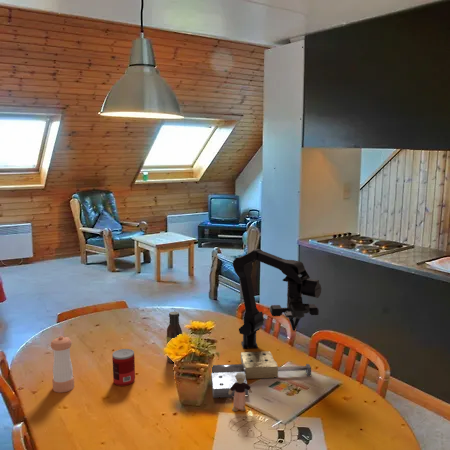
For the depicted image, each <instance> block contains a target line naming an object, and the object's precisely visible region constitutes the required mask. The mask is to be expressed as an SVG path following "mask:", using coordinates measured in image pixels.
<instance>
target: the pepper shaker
mask: <svg viewBox="0 0 450 450" xmlns="http://www.w3.org/2000/svg"><path fill="white" fill-rule="evenodd" d="M72 344H73V343H72V340H71V339H70V337H66V336H65V337H64V336H62V335H61V336H59V337H57V338H54V339H53V340H52V341H51V343H50V348H51V349H52V350H53V365H52V376H53V378H52V391H54V392H55V393H66V392H70V391H72V390H73V389H74V388H75V377H74V374H73V372H74V371H73V364H72V360H71V350H70V348H71V346H72Z"/></svg>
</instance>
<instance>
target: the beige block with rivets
mask: <svg viewBox="0 0 450 450" xmlns="http://www.w3.org/2000/svg"><path fill="white" fill-rule="evenodd" d="M240 362H241V364H243V365H244V368H246V373H245V377H246V380H249V379H253V380H254V379H272V378H273V379H274V377H278V378H279V371H278V367H279V366H278V363H277V361H275V359H274V357H273V354H272V352H271V351H270V350H269V351H243V352H242V351H241V352H240Z"/></svg>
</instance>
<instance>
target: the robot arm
mask: <svg viewBox="0 0 450 450" xmlns="http://www.w3.org/2000/svg"><path fill="white" fill-rule="evenodd" d="M254 262H260V263H263V264H265V265H267V266H270V267H272V268H274V269H277V270H279V271H281V272H282V274H283V275H285V277H283V279H282V282H286V283H287V291H286V292H287V293H286V297H287V298H286V299H287V300H286V307H282V306H281V305H280V304H274V305H273V304H271V305H270V307H269V312H270V314H271V316H272V317H281V316H282V315H283V314H284V316H285V317H286V318H288V321H289V324H290V326H291V330H292V331H293V332H295V331H296V329H297V327H298V324H299V322H300V321H301V319H302V318H305V315H306V314H309V315H311V316H318V315H319V313H320V311H319V307H317V305H316V304H315V303H312V304H311V303H304V302H303V296H305V297H310V298H316V299H318V298H320V296H321V293H322V285H321V284H320V279H312V278H311V277H310V275H309V274H308V271H306V269H305V265H304V263H303V262H302V261H300V260H295V259H285V258H282V257H280V256H277V255H275V254H271V253H269V252H267V251H264V250H262V249H261V248H257V249H254V250H251V251H250V252H249V253H247V254H244V255H241V256H238V257H235V258H234V259H233V261H232V267H233V269H234V272H235V274H236V275H237V276H238V278H239V282H240V287H241V294H242V299H243V306H244V310H245V311H244V315H243V325H241V326H240V327H239V328H238V332H239V334H240V335H242V341H241V342H240V343H241V347H242V349H258V348H259V347H258V346H259V345H258V343H257V332H258V331H259V330H260V329H261V328H262V326H264V321H265V318H264V316H263V315H264V314H263V311H259V309H258V308H257V302H256V297H255V292H254V286H253V280H252V274H253V273H252V272H253V263H254ZM310 278H311V279H310Z"/></svg>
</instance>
